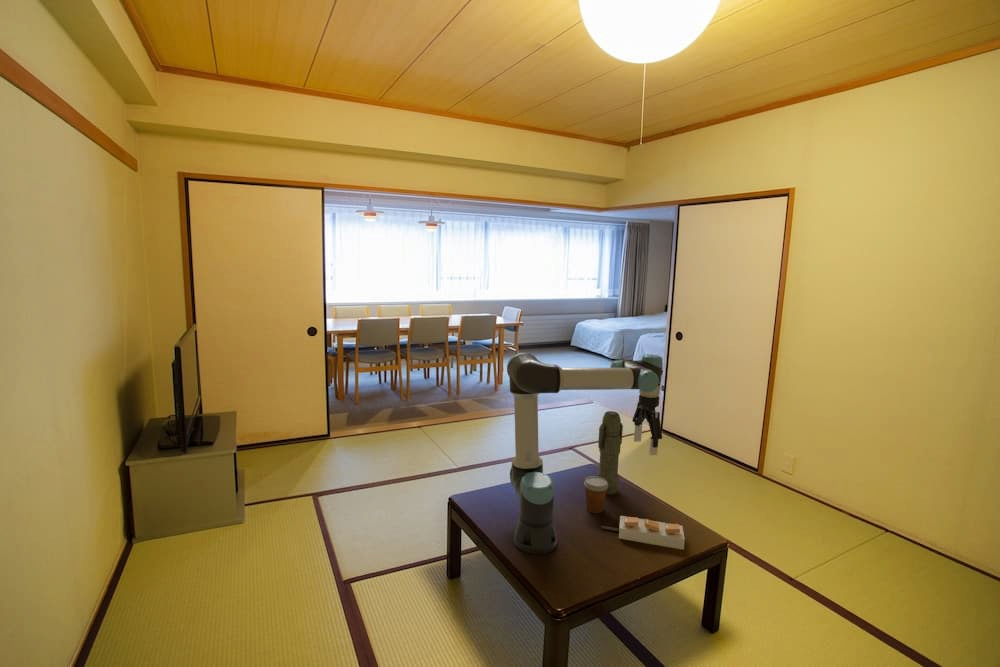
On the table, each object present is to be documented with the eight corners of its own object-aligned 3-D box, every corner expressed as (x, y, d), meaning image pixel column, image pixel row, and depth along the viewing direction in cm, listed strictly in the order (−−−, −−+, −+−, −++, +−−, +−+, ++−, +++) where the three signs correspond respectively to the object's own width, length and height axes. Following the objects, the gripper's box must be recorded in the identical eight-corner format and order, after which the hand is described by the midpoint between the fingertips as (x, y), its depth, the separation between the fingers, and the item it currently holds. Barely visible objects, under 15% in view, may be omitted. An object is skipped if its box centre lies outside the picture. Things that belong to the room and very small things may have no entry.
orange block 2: (644, 526, 168) (645, 523, 168) (644, 521, 171) (645, 518, 171) (657, 531, 167) (659, 528, 167) (657, 526, 170) (658, 523, 170)
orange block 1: (624, 526, 170) (624, 522, 170) (624, 521, 173) (624, 517, 173) (638, 525, 169) (637, 521, 168) (638, 520, 172) (637, 517, 172)
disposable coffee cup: (605, 504, 194) (606, 476, 192) (608, 516, 185) (610, 487, 183) (581, 502, 195) (583, 475, 193) (583, 514, 186) (585, 485, 184)
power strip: (600, 535, 172) (601, 523, 171) (602, 522, 180) (602, 511, 180) (683, 549, 164) (684, 537, 163) (681, 535, 173) (682, 524, 172)
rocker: (665, 533, 166) (665, 529, 166) (665, 527, 169) (664, 524, 169) (680, 532, 165) (679, 528, 165) (679, 527, 168) (678, 523, 168)
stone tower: (624, 490, 206) (629, 413, 201) (605, 497, 200) (610, 418, 195) (608, 482, 214) (613, 408, 208) (590, 489, 207) (594, 412, 202)
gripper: (675, 404, 169) (670, 460, 172) (643, 386, 193) (639, 436, 197) (655, 404, 168) (650, 461, 171) (626, 386, 192) (622, 436, 195)
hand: (644, 447), depth 184 cm, fingers open, 13 cm apart
